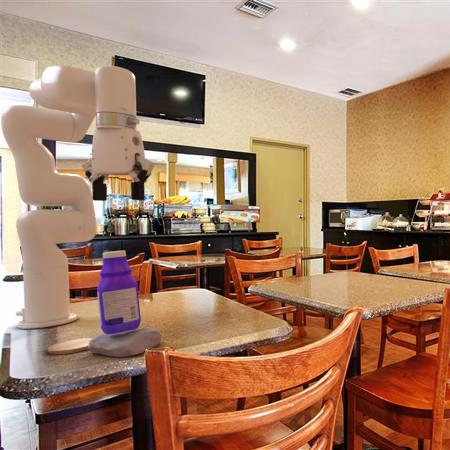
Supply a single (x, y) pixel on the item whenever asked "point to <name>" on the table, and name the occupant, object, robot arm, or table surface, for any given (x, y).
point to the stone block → (125, 342)
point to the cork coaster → (70, 346)
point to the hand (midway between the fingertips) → (118, 200)
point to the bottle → (117, 295)
